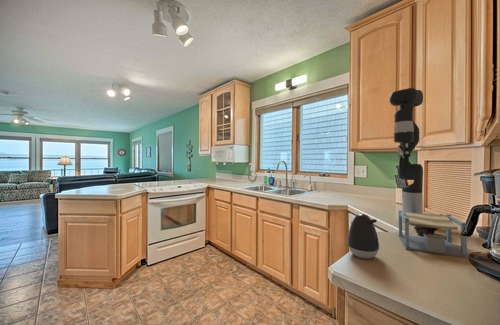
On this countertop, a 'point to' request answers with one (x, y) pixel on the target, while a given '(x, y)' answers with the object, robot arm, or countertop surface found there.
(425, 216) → the trapdoor
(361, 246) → the penguin figurine
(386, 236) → the countertop surface
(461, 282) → the countertop surface
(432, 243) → the basalt cube
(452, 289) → the countertop surface
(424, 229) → the rock
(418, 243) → the trapdoor frame
